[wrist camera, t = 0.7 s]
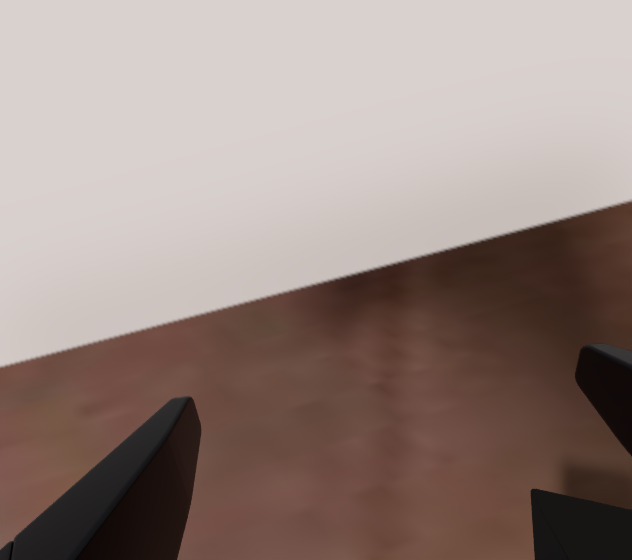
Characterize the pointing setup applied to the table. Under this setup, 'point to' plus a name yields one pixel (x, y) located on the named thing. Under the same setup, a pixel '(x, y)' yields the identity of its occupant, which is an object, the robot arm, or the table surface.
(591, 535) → the build plate
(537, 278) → the table surface
